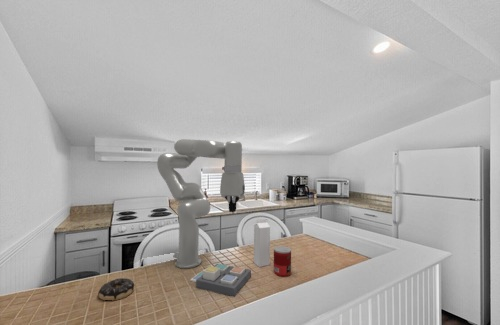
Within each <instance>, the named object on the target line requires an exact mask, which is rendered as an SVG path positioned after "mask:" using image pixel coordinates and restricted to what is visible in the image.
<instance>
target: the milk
mask: <svg viewBox="0 0 500 325" xmlns="http://www.w3.org/2000/svg"><path fill="white" fill-rule="evenodd" d="M270 251H271V226H270V224H269V223H268V219H258V220H256V223H255V224H254V225H253V263H254V264H255V266H258V267H259V268H261V267H266V266H270V263H271V262H270V261H271V260H270V259H271V252H270Z"/></svg>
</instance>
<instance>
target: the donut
mask: <svg viewBox="0 0 500 325" xmlns="http://www.w3.org/2000/svg"><path fill="white" fill-rule="evenodd" d="M135 285H136V284H135V283H134V281H133V280H132V279H131V278H125V277H124V278H122V277H120V278H115V279H113V280H109V281H108V282H106V283H104V284H103V285H102V286H101V287H100V289H99V290H98V298H99V299H100V300H103V301H105V300H112V301H117V300H122V299H124V298H126V297H128V296H129V295H131V294H132V293H133V292H134V290H135Z"/></svg>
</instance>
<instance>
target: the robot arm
mask: <svg viewBox="0 0 500 325" xmlns="http://www.w3.org/2000/svg"><path fill="white" fill-rule="evenodd" d="M242 146H243V144H242V143H241V142H240V141H236V140H234V141H233V140H230V141H226V142H222V141H217V140H215V141H214V140H208V139H207V140H206V139H205V140H204V139H203V140H202V139H188V138H187V139H186V138H181V139H179V140H177V141H176V142H175V143H174V147H173V148H174V149H173V150H174V151H175V152H165V153H164V152H163V153H162V154H160V155H159V156H158V159H157V162H156V166H157V169H158V173H159V174H160V176H161V178H162V179H163V180H164V181H165V183H166V185H167V187H168V189H169V192H170V193H171V195H172V198H173V199H174V200H175V201H176V202H180V203H179V204H178V205H177V216H178V225H179V227H178V228H179V229H178V230H179V231H178V234H179V235H178V251H175V252H174V254H173V255H172V257H173V258H174V259H175V258H176V261H175V263H174V264H175V267H177V268H179V269H192V268H195V267H197V266H198V267H199V265H201V264H202V259H201V258H200V257H199V243H200V242H199V235H200V234H199V233H200V229H199V224H198V222H197V220H196V219H197V218H201V217H205V216H207V215H209V214H210V212H211V204H210V202H209V199H208V198H207V196H206V194H205V192H204V191H203V189H202V188H201V186H200V185H199V184H198V183H197V182H186V181H185V180H184V179H183V176H182V175H181V174H180V173H179V172H178V171H177V170H175V169H178V170H179V169H187V168H188V167H190V165H191V164H192V163H194V162H195V160H196V159H197V158H200V157H201V158H210V159H222V160H223V159H224V166H222V167H221V170H223V171H224V172H222V173H221V180H220V184H219V188H220V189H219V192H220V195H221V196H220V197H221V198H223V199H225V200H226V201H227V203H228V211H229V213H234V212H236V210H237V203H238V201H239V200H242V199H245V192H246V190H245V187H246V186H245V185H246V184H245V177H244V174H243V171H242V169H243V167H242V164H243V161H242V159H243V147H242Z"/></svg>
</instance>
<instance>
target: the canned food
mask: <svg viewBox="0 0 500 325" xmlns="http://www.w3.org/2000/svg"><path fill="white" fill-rule="evenodd" d="M273 273H274V274H275V276H278V277H289V276H290V275H291V273H292V249H291V248H290V247H288V246H281V245H280V246H278V245H277V246H275V247H273Z"/></svg>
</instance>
